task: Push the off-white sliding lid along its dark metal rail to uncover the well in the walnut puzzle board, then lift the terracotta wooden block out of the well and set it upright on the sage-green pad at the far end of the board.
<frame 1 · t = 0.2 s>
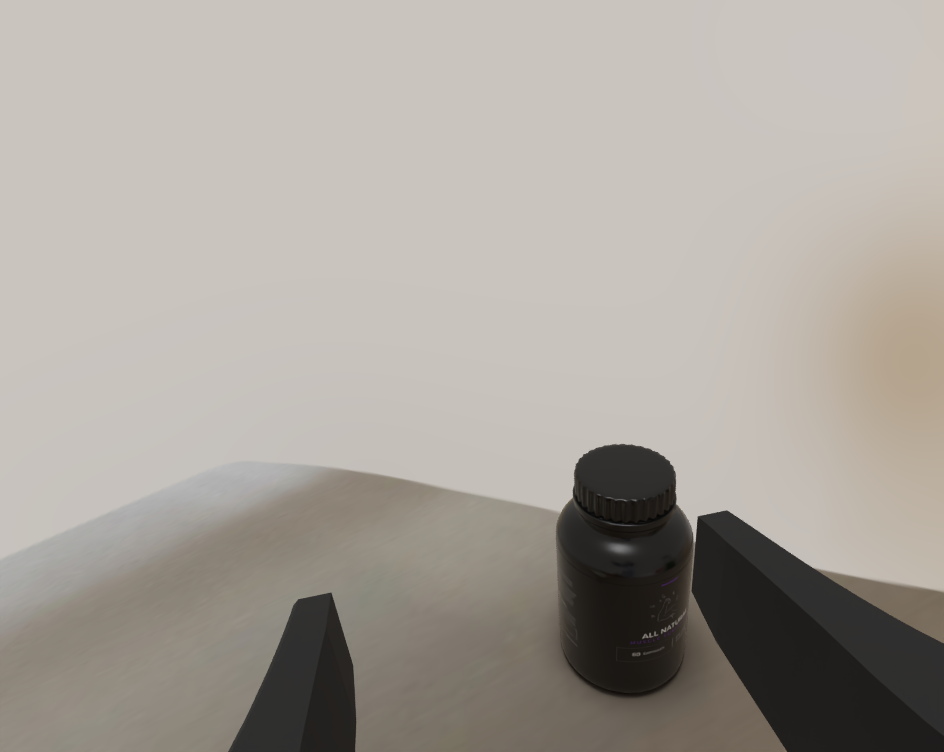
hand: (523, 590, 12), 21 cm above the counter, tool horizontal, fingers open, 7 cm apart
supplement bottle: (621, 646, 36), on the counter
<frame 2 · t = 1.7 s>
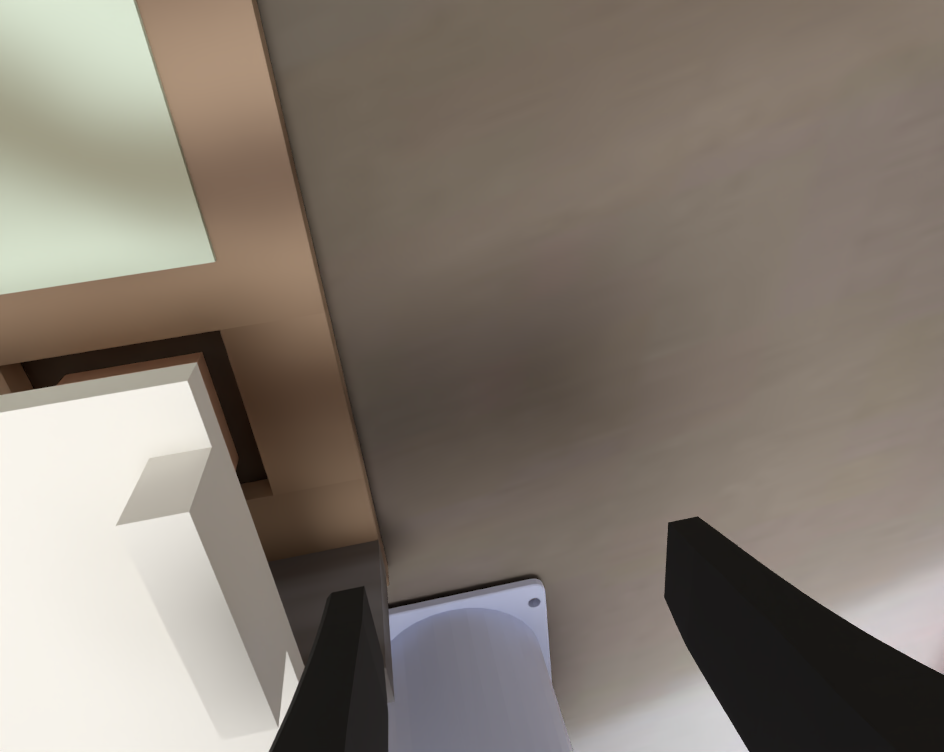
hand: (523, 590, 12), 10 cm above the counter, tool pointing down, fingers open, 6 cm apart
board: (156, 419, 20), on the counter
cover: (85, 674, 14), point 8 cm above the counter, slide at 0.0 cm
block: (157, 418, 20), resting in board
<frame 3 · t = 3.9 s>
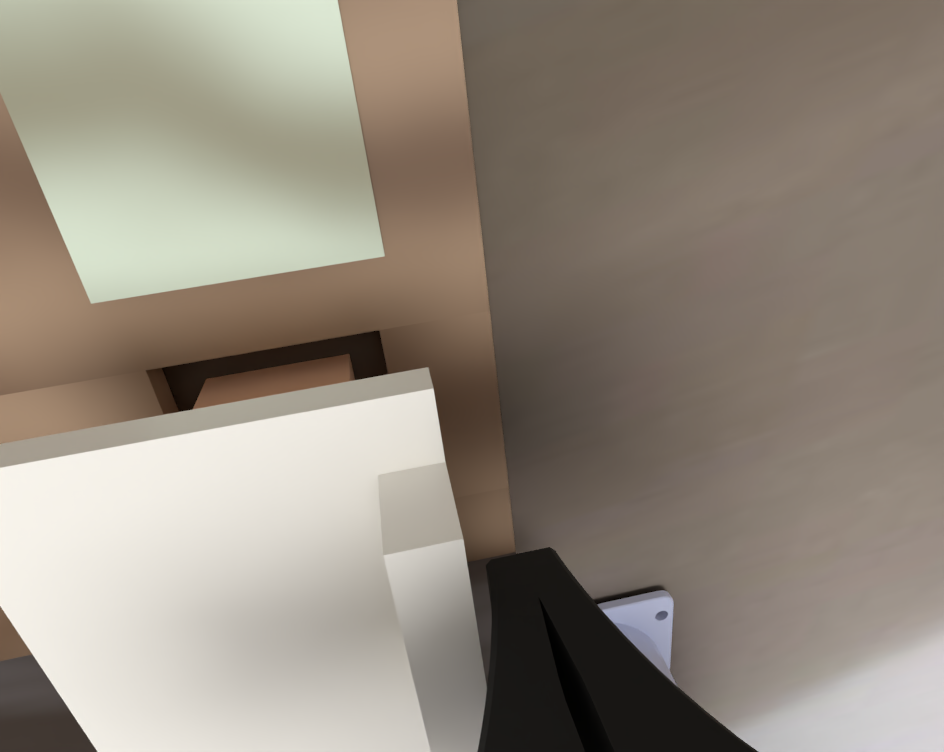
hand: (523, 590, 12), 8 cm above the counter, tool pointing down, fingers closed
board: (295, 426, 19), on the counter
cover: (282, 712, 12), point 8 cm above the counter, slide at 0.1 cm, touching gripper
block: (295, 425, 19), resting in board
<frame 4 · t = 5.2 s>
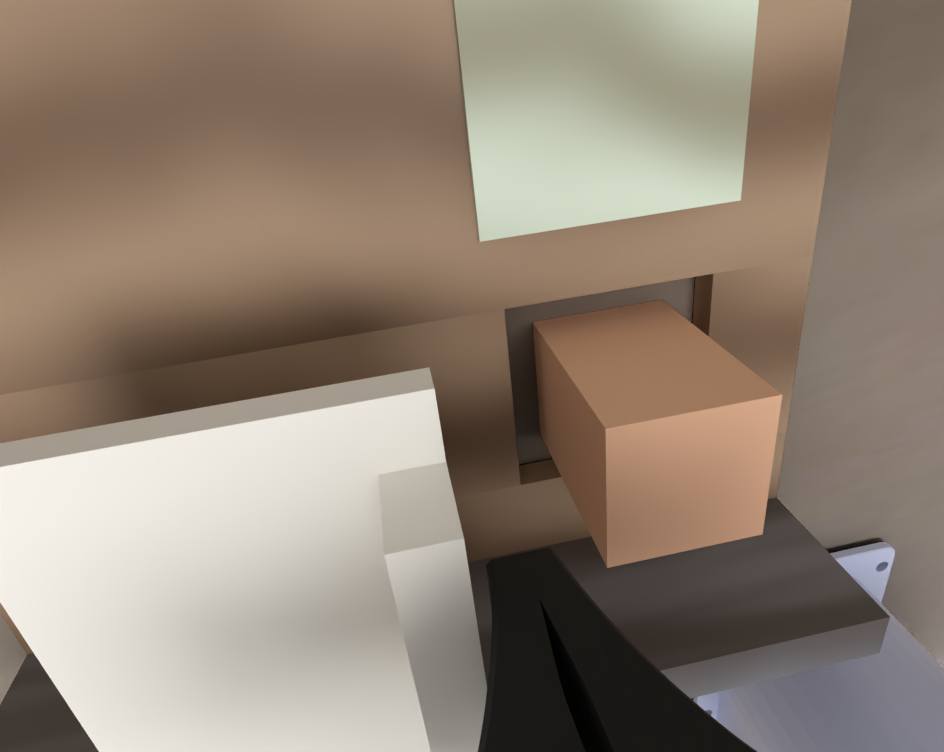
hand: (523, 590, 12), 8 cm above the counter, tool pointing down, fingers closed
board: (599, 370, 20), on the counter
cover: (282, 711, 12), point 8 cm above the counter, slide at 9.5 cm, touching gripper
block: (598, 369, 20), resting in board
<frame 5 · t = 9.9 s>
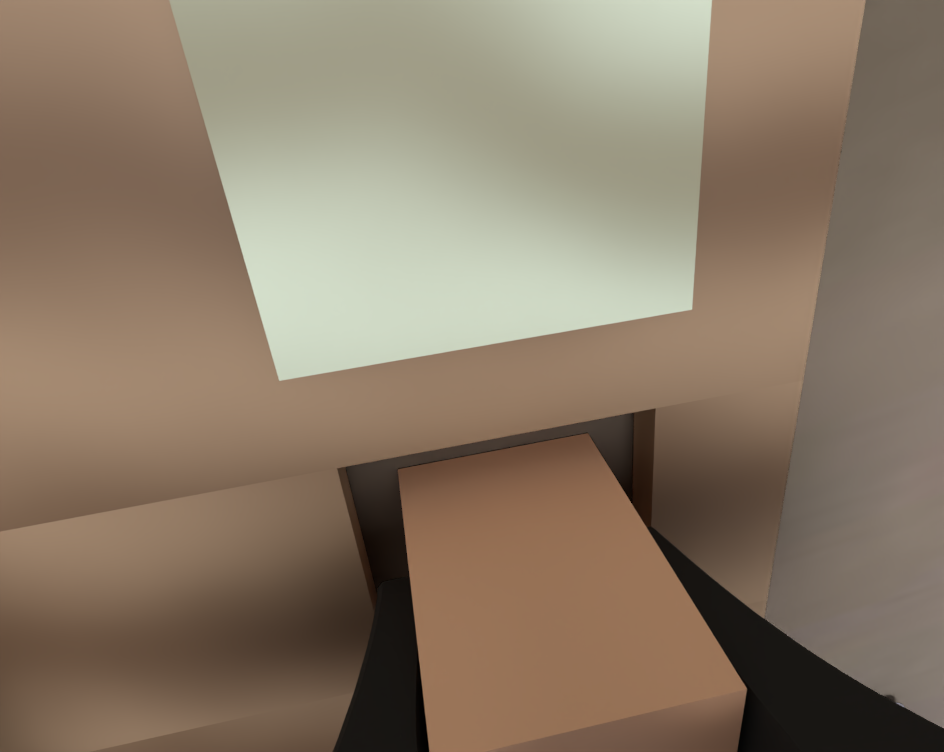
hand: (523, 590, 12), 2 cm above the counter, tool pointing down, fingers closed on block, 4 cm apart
board: (502, 525, 14), on the counter
block: (502, 525, 14), resting in board, touching gripper
when the fingers open (4 cm above the counter, at t = 13.0 s): block drops 1 cm, resting on board.
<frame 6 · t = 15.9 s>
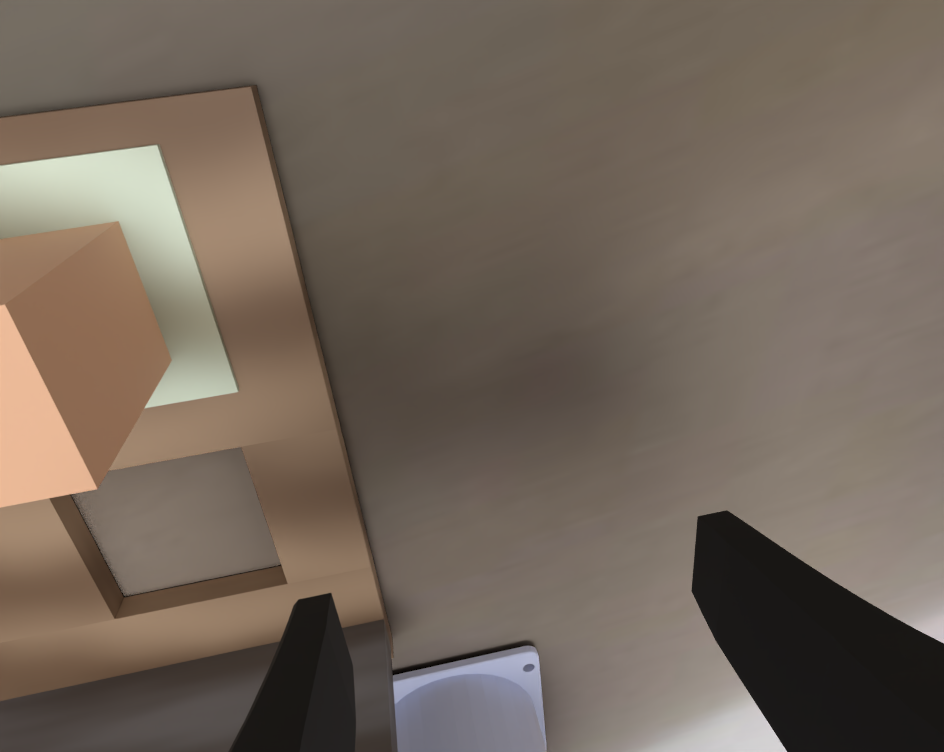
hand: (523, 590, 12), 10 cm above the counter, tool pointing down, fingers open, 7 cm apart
board: (181, 518, 22), on the counter
block: (69, 307, 17), point 1 cm above the counter, touching board
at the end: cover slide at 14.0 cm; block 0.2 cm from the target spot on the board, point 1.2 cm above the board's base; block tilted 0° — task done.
